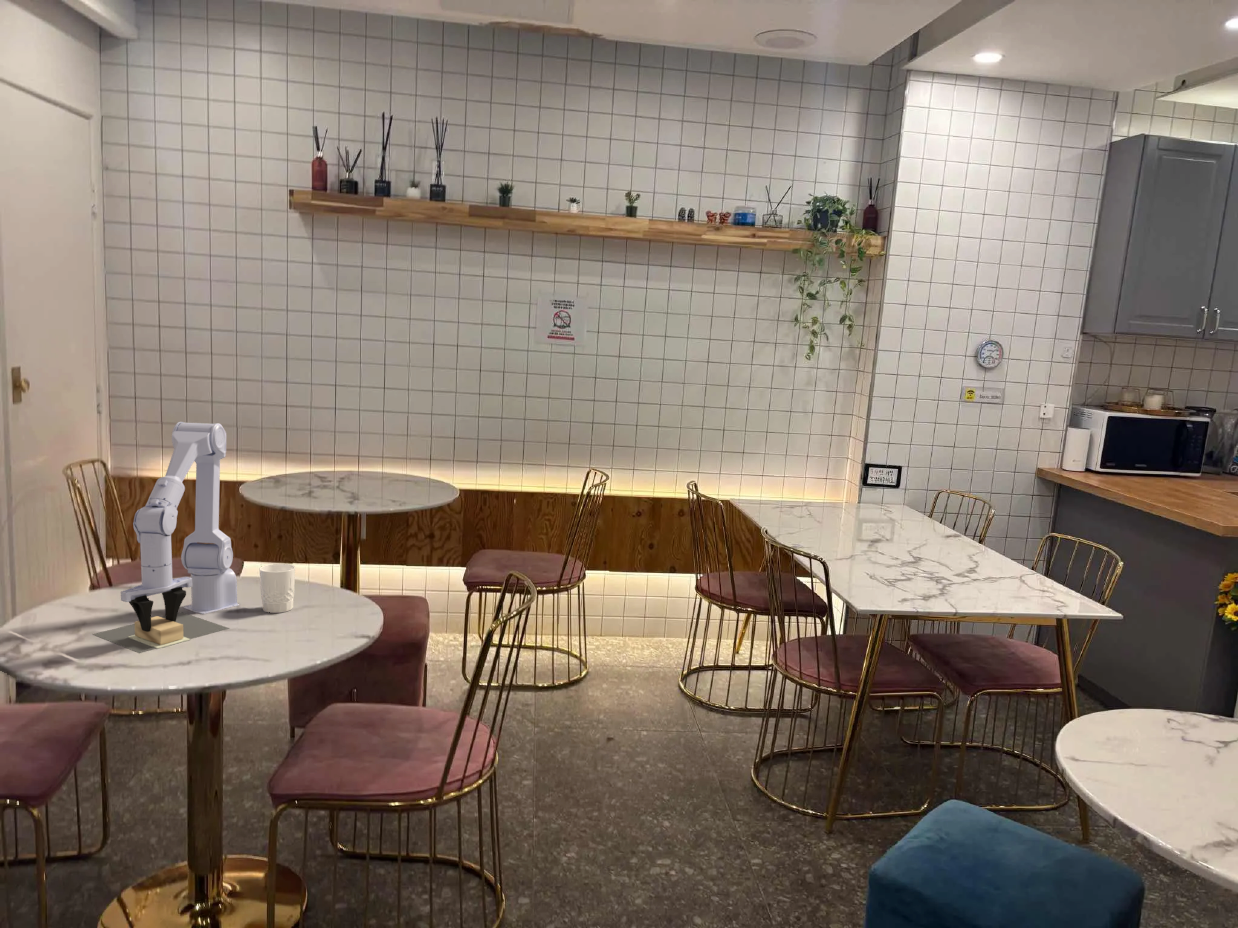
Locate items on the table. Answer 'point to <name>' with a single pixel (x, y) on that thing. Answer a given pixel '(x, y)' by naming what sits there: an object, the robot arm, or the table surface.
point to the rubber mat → (127, 639)
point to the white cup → (277, 587)
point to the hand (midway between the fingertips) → (158, 627)
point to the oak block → (160, 631)
